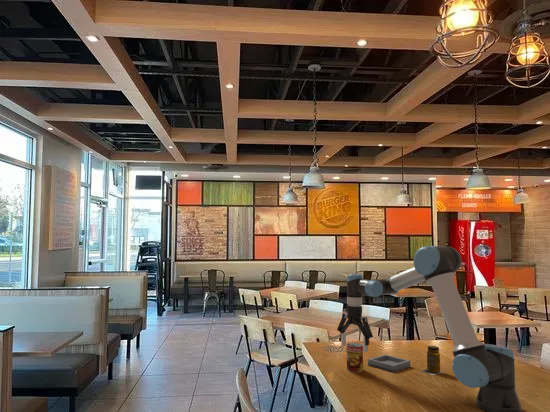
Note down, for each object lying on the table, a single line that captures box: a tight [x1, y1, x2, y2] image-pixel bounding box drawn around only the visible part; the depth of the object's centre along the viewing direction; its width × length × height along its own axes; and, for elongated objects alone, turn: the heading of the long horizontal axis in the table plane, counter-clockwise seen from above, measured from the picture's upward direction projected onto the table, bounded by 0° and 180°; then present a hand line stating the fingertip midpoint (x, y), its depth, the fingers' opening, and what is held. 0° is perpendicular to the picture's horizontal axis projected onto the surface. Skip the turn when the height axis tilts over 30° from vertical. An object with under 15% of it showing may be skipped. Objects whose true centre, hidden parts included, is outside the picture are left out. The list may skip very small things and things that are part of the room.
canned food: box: [346, 342, 364, 373], centre depth 204 cm, size 8×8×12 cm
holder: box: [367, 354, 411, 373], centre depth 211 cm, size 15×15×3 cm
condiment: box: [421, 345, 445, 376], centre depth 203 cm, size 7×8×12 cm
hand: (354, 349), depth 205 cm, fingers open, 13 cm apart
